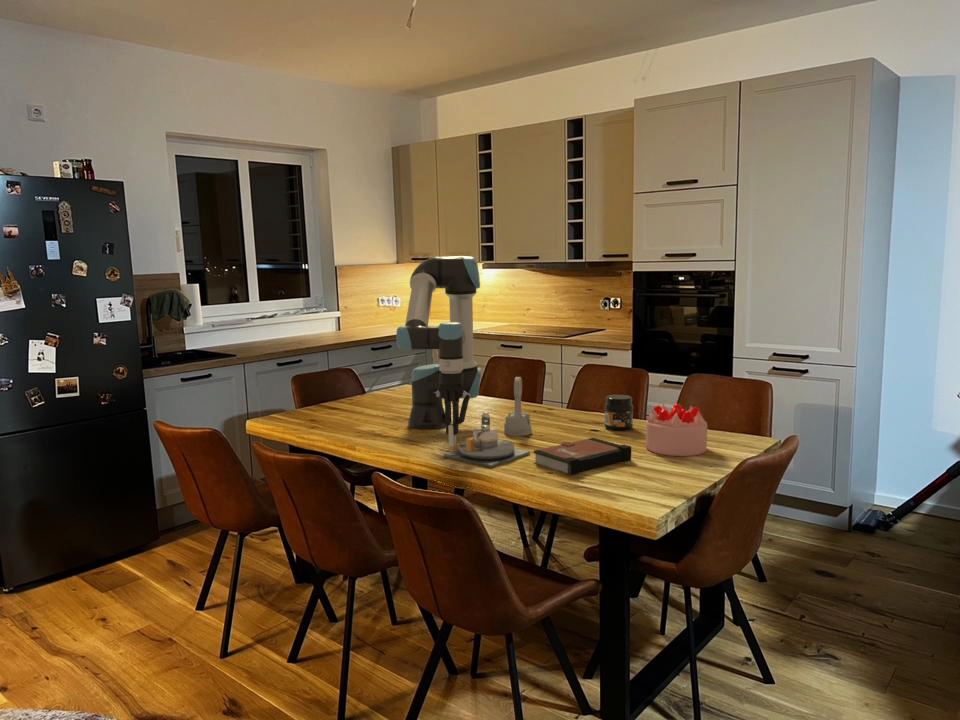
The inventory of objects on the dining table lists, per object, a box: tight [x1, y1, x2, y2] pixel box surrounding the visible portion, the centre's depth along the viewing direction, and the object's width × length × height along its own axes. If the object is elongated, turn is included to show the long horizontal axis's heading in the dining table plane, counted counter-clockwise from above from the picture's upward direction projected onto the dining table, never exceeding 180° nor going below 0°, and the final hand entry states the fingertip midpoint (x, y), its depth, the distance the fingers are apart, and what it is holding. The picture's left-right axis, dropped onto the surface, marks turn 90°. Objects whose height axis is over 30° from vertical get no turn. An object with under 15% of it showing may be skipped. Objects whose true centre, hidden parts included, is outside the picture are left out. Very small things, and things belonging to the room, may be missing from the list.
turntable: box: [458, 437, 515, 459], centre depth 236 cm, size 18×18×6 cm
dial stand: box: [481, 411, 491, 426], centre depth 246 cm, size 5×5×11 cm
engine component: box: [503, 376, 532, 436], centre depth 267 cm, size 11×20×10 cm
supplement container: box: [604, 394, 634, 432], centre depth 272 cm, size 10×10×12 cm
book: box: [533, 437, 632, 476], centre depth 229 cm, size 26×18×5 cm
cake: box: [645, 403, 708, 457], centre depth 242 cm, size 20×20×14 cm
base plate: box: [443, 447, 531, 469], centre depth 237 cm, size 20×20×1 cm
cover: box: [472, 424, 499, 449], centre depth 236 cm, size 8×8×6 cm
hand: (452, 444), depth 232 cm, fingers closed
